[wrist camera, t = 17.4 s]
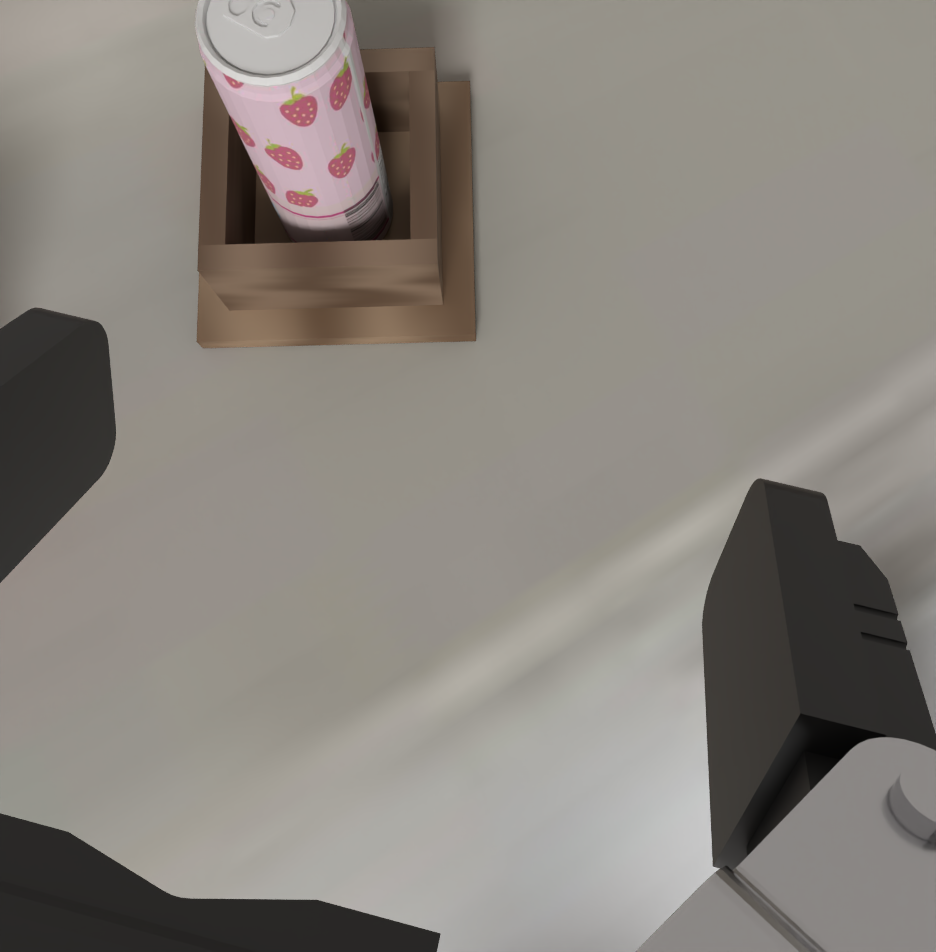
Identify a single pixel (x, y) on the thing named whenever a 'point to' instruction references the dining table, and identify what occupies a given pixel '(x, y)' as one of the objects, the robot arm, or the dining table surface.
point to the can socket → (346, 262)
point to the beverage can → (301, 112)
